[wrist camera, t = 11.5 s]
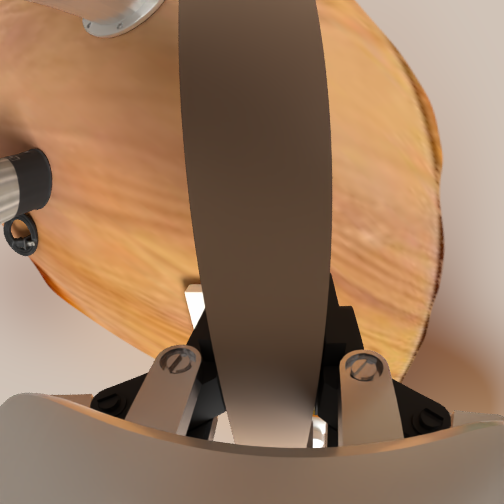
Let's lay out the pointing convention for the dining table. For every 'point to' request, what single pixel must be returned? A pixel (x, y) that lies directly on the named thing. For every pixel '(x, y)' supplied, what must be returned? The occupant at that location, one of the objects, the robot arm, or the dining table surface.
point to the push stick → (260, 204)
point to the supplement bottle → (318, 430)
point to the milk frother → (23, 194)
